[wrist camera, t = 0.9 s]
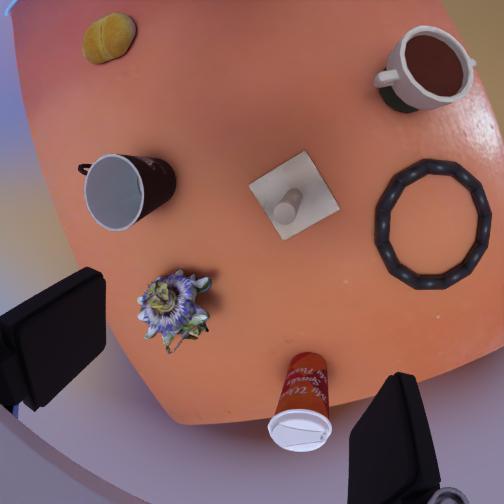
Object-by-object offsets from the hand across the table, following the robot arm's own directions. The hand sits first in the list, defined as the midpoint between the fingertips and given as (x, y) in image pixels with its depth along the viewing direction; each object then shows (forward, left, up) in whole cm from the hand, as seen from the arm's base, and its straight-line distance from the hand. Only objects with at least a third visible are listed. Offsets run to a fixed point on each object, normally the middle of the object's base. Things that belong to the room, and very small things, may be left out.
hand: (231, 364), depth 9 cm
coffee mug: (-14, -15, -31) cm, 37 cm away
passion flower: (+4, -21, -31) cm, 38 cm away
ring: (+11, +14, -30) cm, 34 cm away
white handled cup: (-6, +18, -31) cm, 36 cm away
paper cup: (+22, -11, -31) cm, 39 cm away
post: (-1, 0, -31) cm, 31 cm away
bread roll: (-36, -9, -31) cm, 48 cm away
